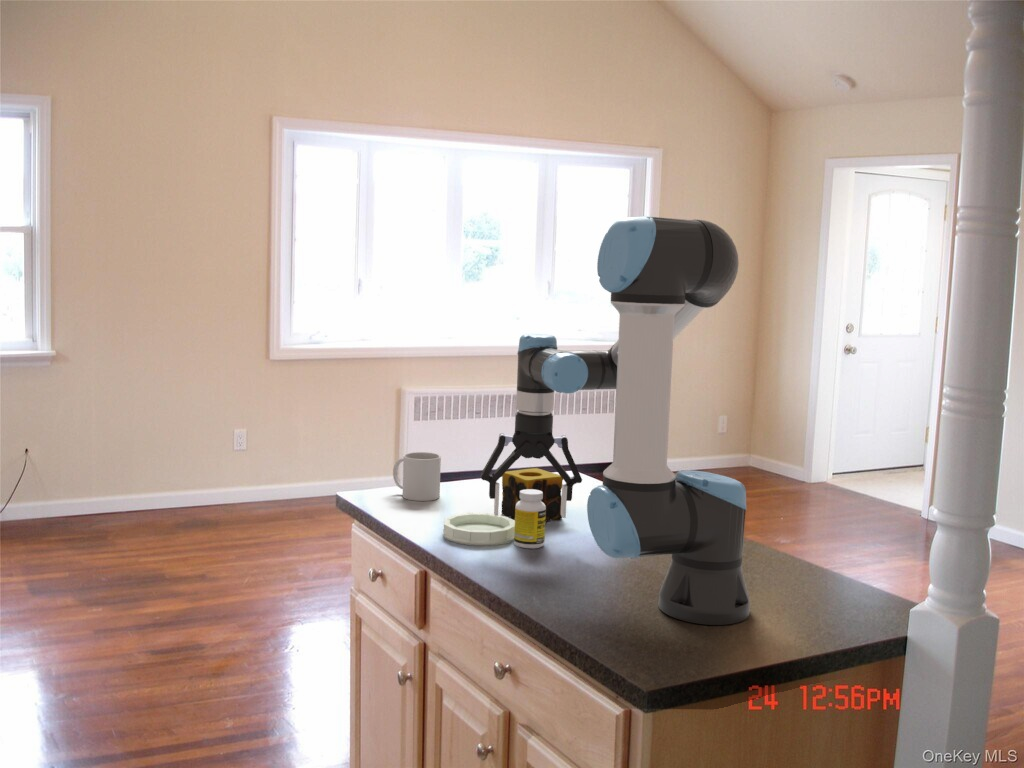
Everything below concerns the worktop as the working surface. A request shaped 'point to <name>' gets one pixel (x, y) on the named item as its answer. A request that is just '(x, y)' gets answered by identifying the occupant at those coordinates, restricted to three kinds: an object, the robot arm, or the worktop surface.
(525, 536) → the pill bottle
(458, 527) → the sage dish
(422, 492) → the mug
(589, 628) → the worktop surface
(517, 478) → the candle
